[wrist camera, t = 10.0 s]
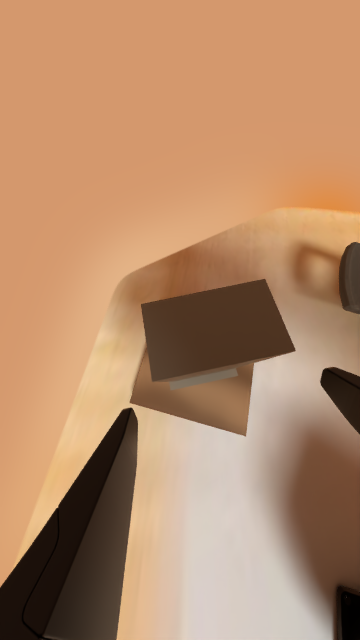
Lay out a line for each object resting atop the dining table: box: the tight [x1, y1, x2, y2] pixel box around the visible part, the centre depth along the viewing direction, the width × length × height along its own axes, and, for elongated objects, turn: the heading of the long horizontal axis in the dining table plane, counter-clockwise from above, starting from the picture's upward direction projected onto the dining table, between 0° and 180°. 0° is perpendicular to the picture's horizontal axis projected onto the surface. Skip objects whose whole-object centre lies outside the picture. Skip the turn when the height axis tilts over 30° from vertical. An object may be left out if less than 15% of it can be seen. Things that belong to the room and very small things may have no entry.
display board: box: [130, 348, 254, 436], centre depth 20 cm, size 12×12×2 cm
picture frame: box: [141, 279, 296, 390], centre depth 14 cm, size 5×7×12 cm
